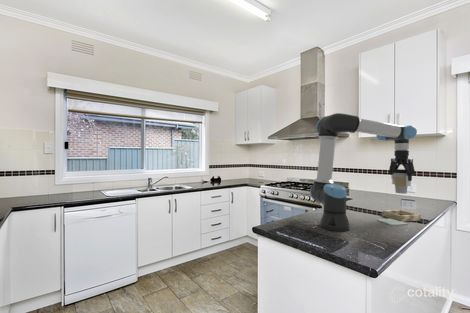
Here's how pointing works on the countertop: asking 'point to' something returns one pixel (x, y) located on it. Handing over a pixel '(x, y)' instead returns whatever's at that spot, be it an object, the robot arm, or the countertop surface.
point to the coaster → (392, 222)
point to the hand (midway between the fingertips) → (401, 185)
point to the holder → (402, 215)
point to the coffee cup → (400, 181)
